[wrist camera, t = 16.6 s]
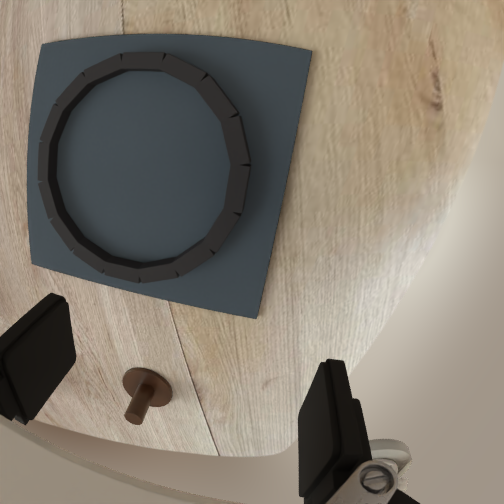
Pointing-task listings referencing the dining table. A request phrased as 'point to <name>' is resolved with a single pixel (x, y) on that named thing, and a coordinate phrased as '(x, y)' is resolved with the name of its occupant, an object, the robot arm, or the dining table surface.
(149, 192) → the mat
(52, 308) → the robot arm
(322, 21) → the dining table surface
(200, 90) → the ring
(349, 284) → the dining table surface
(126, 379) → the brown peg stand
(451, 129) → the dining table surface
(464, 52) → the dining table surface
